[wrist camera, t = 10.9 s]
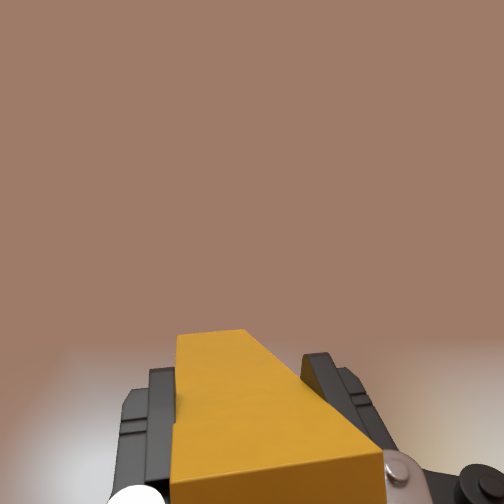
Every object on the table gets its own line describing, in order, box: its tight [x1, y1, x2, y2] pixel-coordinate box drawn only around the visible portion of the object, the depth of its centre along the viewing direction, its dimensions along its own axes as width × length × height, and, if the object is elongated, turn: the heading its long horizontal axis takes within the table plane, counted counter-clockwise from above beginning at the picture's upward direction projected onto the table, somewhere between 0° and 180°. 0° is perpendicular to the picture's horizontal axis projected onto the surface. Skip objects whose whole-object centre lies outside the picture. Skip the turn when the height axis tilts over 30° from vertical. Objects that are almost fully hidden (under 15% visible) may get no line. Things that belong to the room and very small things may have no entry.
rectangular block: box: [169, 329, 387, 504], centre depth 17 cm, size 4×18×2 cm, turn 10°
